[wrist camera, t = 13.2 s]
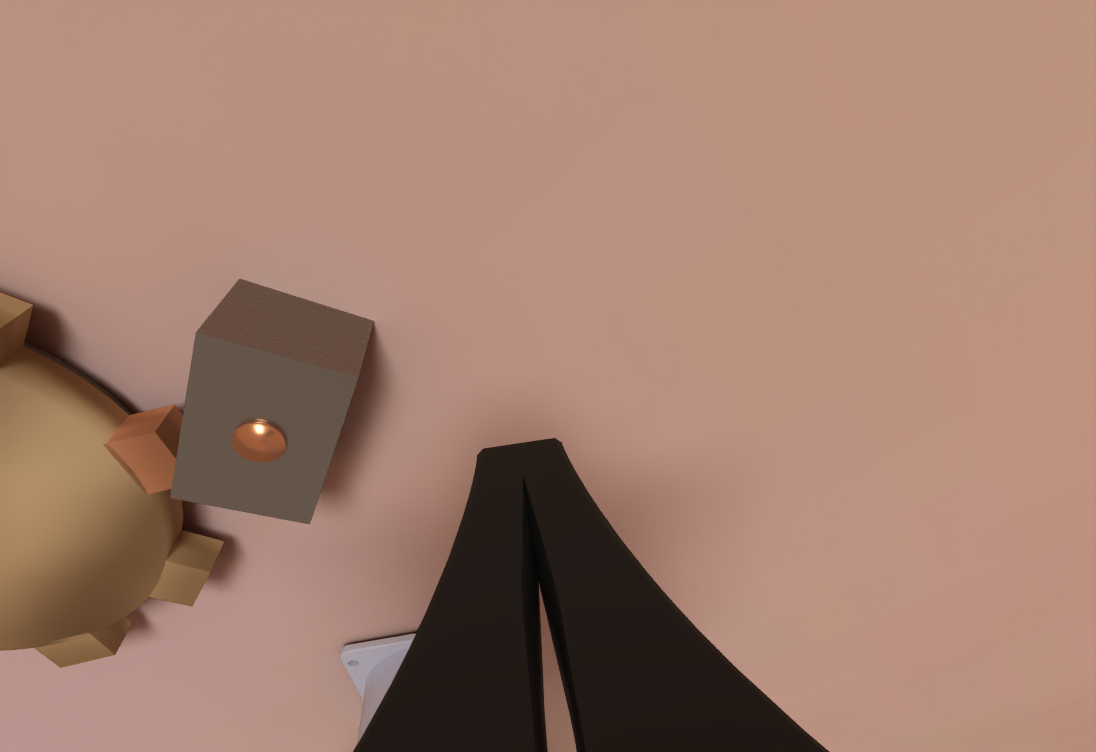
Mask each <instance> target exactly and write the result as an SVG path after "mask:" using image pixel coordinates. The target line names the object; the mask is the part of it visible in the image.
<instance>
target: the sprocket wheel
mask: <svg viewBox="0 0 1096 752" xmlns="http://www.w3.org/2000/svg"><path fill="white" fill-rule="evenodd" d="M32 309H33V305H32V304H29V303H27V302H24V301H21V300H19V299H16V298H14V297H11V296H8V295H6V294H3V293H1V292H0V651H1V650H17V649H26V648H35V649H36V650H38V651H39V652H40V653H42V654H43V655H44V656H46V657H47V658H48V659H50V660H51V661H52V662H54V663H55V664H56V665H58V666H59V667H60V668H62V667H66V666H70V665H74V664H79V663H83V662H87V661H91V660H95V659H100V658H104V657H108V656H112V655H115V654H116V652H117V650H118V648H119V647H120V645H121V643H122V641H123V639H124V637H125V635H126V633H127V632H128V630H129V628H130V626H131V624H132V622H131V621H130V620H129V619H128V618H127V617H126V616H127V615H129V614H130V613H131V612H133V611H134V610H135V609H137V608H138V607H139V606H140V605H141V604H142V603H143V602H144V601H145V600H146V599H147V598H148V597H152V598H156V599H161V600H165V601H170V602H174V603H178V604H183V605H187V606H193V604H194V602H195V601H196V599H197V597H198V595H199V593H200V591H201V589H202V587H203V586H204V584H205V582H206V580H207V578H208V576H209V574H210V572H211V570H212V568H213V566H214V563H215V561H216V559H217V557H218V554H219V552H220V550H221V547H222V545H223V543H224V541H221V540H217V539H213V538H210V537H206V536H202V535H199V534H195V533H191V532H188V531H184V530H182V524H183V508H182V500H178V499H173V498H170V496H171V489H172V483H173V476H174V470H175V464H176V457H177V451H178V444H179V438H180V432H181V425H182V419H183V415H182V414H181V412H180V411H179V410H178V408H177V407H176V406H175V404H174V405H170V406H166V407H162V408H157V409H153V410H149V411H145V412H140V413H136V414H132V415H128V414H127V413H126V412H125V411H124V410H123V409H122V408H120V407H119V406H118V405H117V404H116V403H115V402H114V401H113V400H111V399H110V398H109V397H108V396H106V395H105V394H103V393H102V392H101V391H99V390H98V389H97V388H95V387H94V386H92V385H91V384H90V383H88V382H87V381H86V380H84V379H83V378H81V377H80V376H78V375H76V374H75V373H73V372H71V371H70V370H68V369H66V368H65V367H63V366H61V365H60V364H58V363H56V362H55V361H53V360H51V359H49V358H47V357H45V356H43V355H41V354H39V353H37V352H35V351H33V350H31V349H29V348H27V347H25V346H24V341H25V337H26V333H27V329H28V325H29V321H30V317H31V313H32Z"/></svg>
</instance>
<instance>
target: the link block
mask: <svg viewBox="0 0 1096 752" xmlns="http://www.w3.org/2000/svg"><path fill="white" fill-rule="evenodd" d="M373 323H374V321H372V320H369V319H366V318H363V317H360V316H356V315H353V314H350V313H347V312H344V311H341V310H337V309H334V308H331V307H328V306H325V305H322V304H318V303H315V302H312V301H309V300H306V299H303V298H299V297H296V296H293V295H290V294H287V293H283V292H280V291H277V290H274V289H271V288H268V287H264V286H261V285H258V284H255V283H252V282H249V281H245V280H242V279H239V280H238V281H237V283H236V284H235V285H234V286H233V287H232V289H231V290H230V291H229V292H228V294H227V295H226V296H225V297H224V299H223V300H222V301H221V302H220V303H219V305H218V306H217V307H216V308H215V310H214V311H213V312H212V313H211V314H210V316H209V317H208V318H207V319H206V321H205V322H204V323H203V324H202V326H201V327H200V328H199V329H198V330H197V332H196V336H195V342H194V348H193V355H192V361H191V368H190V374H189V380H188V387H187V393H186V400H185V406H184V412H183V419H182V425H181V432H180V438H179V444H178V451H177V457H176V464H175V470H174V476H173V483H172V489H171V496H170V498H173V499H178V500H184V501H189V502H194V503H200V504H205V505H210V506H215V507H221V508H226V509H231V510H237V511H242V512H247V513H253V514H258V515H263V516H269V517H274V518H279V519H284V520H290V521H295V522H300V523H306V524H310V522H311V519H312V516H313V513H314V510H315V507H316V504H317V501H318V498H319V495H320V492H321V489H322V486H323V483H324V480H325V477H326V474H327V471H328V468H329V465H330V462H331V459H332V456H333V453H334V450H335V447H336V444H337V441H338V438H339V435H340V432H341V429H342V426H343V423H344V420H345V417H346V414H347V411H348V408H349V405H350V402H351V399H352V396H353V393H354V390H355V387H356V384H357V381H358V378H359V374H360V370H361V367H362V363H363V360H364V356H365V352H366V349H367V345H368V341H369V338H370V334H371V330H372V327H373Z"/></svg>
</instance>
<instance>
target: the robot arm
mask: <svg viewBox="0 0 1096 752" xmlns="http://www.w3.org/2000/svg"><path fill="white" fill-rule="evenodd" d="M539 585H540V590H541V594H542V598H543V602H544V607H545V611H546V615H547V619H548V624H549V628H550V632H551V636H552V641H553V645H554V649H555V653H556V658H557V662H558V666H559V670H560V675H561V679H562V683H563V687H564V692H565V696H566V700H567V704H568V709H569V713H570V718H571V723H572V728H573V733H574V738H575V743H576V750H577V752H829V751H828V750H827V749H825V748H824V747H823V746H822V745H821V744H820V743H818V742H817V741H816V740H815V739H814V738H813V737H811V736H810V735H809V734H808V733H807V732H805V731H804V730H803V729H802V728H801V727H800V726H799V725H798V724H797V723H796V722H795V721H793V720H792V719H791V718H790V717H789V716H788V715H787V714H786V713H785V712H784V711H783V710H781V709H780V708H779V707H778V706H777V705H776V704H775V703H774V702H773V701H772V700H771V699H770V698H768V697H767V696H766V695H765V694H764V693H763V692H762V691H761V690H760V689H759V688H758V687H756V686H755V685H754V684H753V683H752V682H751V681H750V680H749V679H748V678H747V677H746V676H744V675H743V674H742V673H741V672H740V671H739V670H738V669H737V668H736V667H735V666H734V665H733V664H732V663H731V662H730V661H729V660H728V659H727V658H726V657H725V656H724V655H723V654H722V653H721V652H720V651H719V650H718V649H717V648H716V647H715V646H714V645H713V644H712V643H711V642H710V641H709V640H708V639H707V638H706V637H705V636H704V635H703V634H702V633H701V632H700V631H699V630H698V629H697V628H696V627H695V626H694V624H693V623H692V622H691V621H690V620H689V619H688V618H687V617H686V616H685V615H684V614H683V613H682V612H681V611H680V609H679V608H678V607H677V606H676V605H675V604H674V603H673V602H672V601H671V599H670V598H669V597H668V596H667V595H666V594H665V593H664V592H663V590H662V589H661V588H660V587H659V586H658V584H657V583H656V582H655V581H654V580H653V579H652V577H651V576H650V575H649V574H648V573H647V571H646V570H645V569H644V568H643V566H642V565H641V564H640V563H639V561H638V560H637V559H636V558H635V557H634V555H633V554H632V553H631V552H630V550H629V549H628V548H627V546H626V545H625V544H624V542H623V541H622V540H621V538H620V537H619V536H618V534H617V533H616V532H615V530H614V529H613V527H612V526H611V525H610V523H609V522H608V520H607V519H606V518H605V516H604V515H603V513H602V512H601V511H600V509H599V508H598V506H597V505H596V503H595V502H594V500H593V499H592V497H591V496H590V494H589V493H588V491H587V489H586V488H585V486H584V485H583V483H582V481H581V480H580V478H579V476H578V475H577V473H576V471H575V469H574V468H573V466H572V464H571V462H570V460H569V458H568V456H567V454H566V452H565V450H564V447H563V445H562V442H560V441H559V440H557V439H556V438H552V439H545V440H538V441H532V442H525V443H518V444H511V445H505V446H498V447H491V448H484V449H482V451H481V452H480V453H479V454H478V455H477V463H476V469H475V474H474V478H473V483H472V487H471V491H470V494H469V498H468V501H467V505H466V508H465V512H464V515H463V518H462V521H461V524H460V527H459V530H458V532H457V535H456V538H455V541H454V544H453V547H452V550H451V553H450V555H449V558H448V561H447V563H446V566H445V568H444V571H443V573H442V575H441V578H440V580H439V583H438V585H437V587H436V590H435V592H434V595H433V597H432V599H431V602H430V604H429V607H428V609H427V611H426V613H425V616H424V618H423V620H422V622H421V624H420V626H419V629H418V631H417V633H414V634H408V635H402V636H396V637H390V638H384V639H379V640H373V641H367V642H361V643H355V644H349V645H346V646H344V647H343V648H342V649H341V652H340V659H341V661H342V663H343V665H344V667H345V669H346V671H347V672H348V674H349V676H350V678H351V680H352V682H353V684H354V686H355V687H356V689H357V691H358V693H359V695H360V697H361V699H362V701H363V704H362V711H361V719H360V726H359V733H358V740H357V746H356V747H355V749H354V751H353V752H548V750H547V739H546V726H545V712H544V690H543V668H542V645H541V623H540V601H539Z"/></svg>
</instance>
